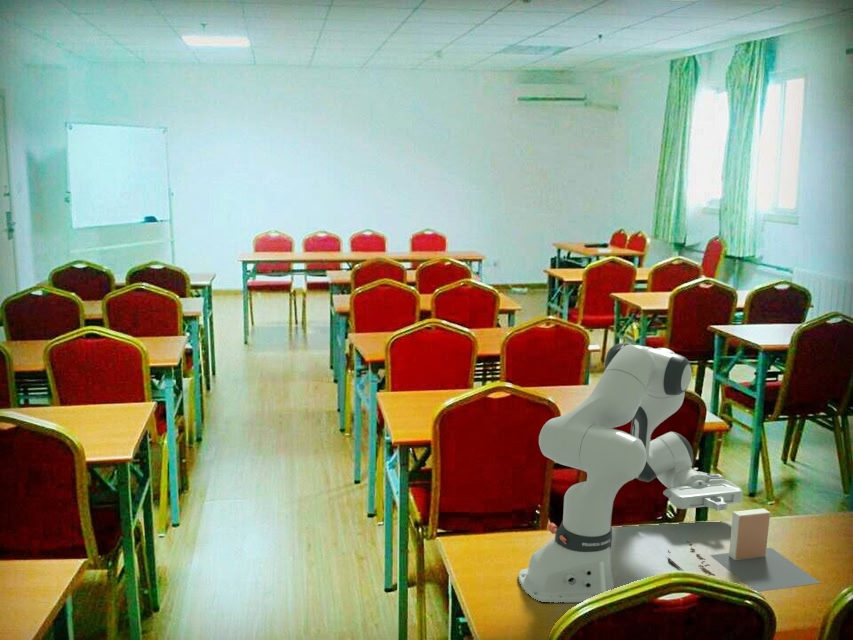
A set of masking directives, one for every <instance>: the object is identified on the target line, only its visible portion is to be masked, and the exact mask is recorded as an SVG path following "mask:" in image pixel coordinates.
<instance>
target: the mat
mask: <svg viewBox="0 0 853 640" xmlns="http://www.w3.org/2000/svg"><path fill="white" fill-rule="evenodd" d="M710 556H711V558H713V560H716V562H717V563H719V564H720V565H721V566H723V567H724V568H725V569H726V570H728V571H729V572H730V573H731V574H733V575H734V576H735V577H736V578H738V580H740V581H741V582H743V583H744V584H745V585H746V586H748V587H749V588H750V589H751V588H753V589H754V590H756V591H758V592H765V591H766V592H767V591H773V590H779V589H786V588H787V589H789V588H795V587H802V586H809V585H817V584H821V583H822V582H821V581H820V580H817V579H816V577H814V576H812V575H811V574H809V573H808V572H806V571H805V570H804V569H803V568H800V567H799V566H798V565H796V564H795V563H794V562H792V561H791V560H789V559H788V558H786V557H785V556H783V555H782V554H781V553H780V552H778V551H777V550H775V548H772V547H768V548H767V547H766V556H765V557H757V558H749V559H740V560H734V559H732V558H731V557H730V556H729V552H726V553H717V554H710ZM750 586H751V587H750ZM753 589H752V590H753ZM754 590H753V591H754ZM758 592H757V593H758Z"/></svg>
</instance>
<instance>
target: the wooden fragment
mask: <svg viewBox="0 0 853 640" xmlns="http://www.w3.org/2000/svg"><path fill="white" fill-rule="evenodd" d="M686 543H688V546H689V547H690V546H691V547H690V551H689V552H690V553H693V554H694V553H695V555H696V558H697V559H699V561H700V560H701V564H702V565H701V564H699V565H697V567H698V568H699V570H700V571H701V572H703V573H704V575H707V576H713V577H714V576H715V577H716V574H715V573H712V572H711V571H710V570H708V569H707V568H705V567H708V566H710V564H704V563H706V561H705V560H706V559H705V558H704V557H702V556H701V554H699V553H696V548H692V547H693V543H690V541H686ZM694 547H697V545H694ZM667 553H669V554H668V555H671V553H672V552H671V551H669V549H667ZM667 557H668V558H667V559H668V563H670V564H672V565H674V566H675V567H677V568H679V569H680V570H682V571H683V572H684V571H685V570H684V569H682V567H680V565H678V564H677V563H676V562H675V561H673V560H672V559H671V558H670V557H669V556H667ZM703 560H704V561H703Z"/></svg>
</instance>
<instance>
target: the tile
mask: <svg viewBox="0 0 853 640" xmlns="http://www.w3.org/2000/svg"><path fill="white" fill-rule="evenodd" d="M770 517H771V511H768V510H767V509H766V508H764V507H763V508H755V509H746V510H745V509H744V510H736V511H735V510H734V511H732V520H731V529H730V539H729V541H730V542H729V548H728V549H729V550H728V553H729V556H730V557H731V558H732V559H734V560H740V559H749V558H757V557H765V556H766V548H767V545H768V536H769V528H770V527H769V526H770V519H771V518H770Z"/></svg>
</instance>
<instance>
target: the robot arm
mask: <svg viewBox="0 0 853 640" xmlns="http://www.w3.org/2000/svg"><path fill="white" fill-rule="evenodd" d="M692 370H693V369H692V364H691V362H690V361H689V360H688V359H687V358H686V357H685V356H683V355H681V354H678V353H675V352H674V351H673V350H671V349H669V348H666V347H657V348H656V347H655V348H653V347H651V346H646V345H645V346H644V345H637V344H630V343H627V342H622V343H621V342H619V343H616V344H614V345H613V346H612V347H610V349H608V351H607V353H606V357H605V360H604V371H603V373H602V375H601V377H600V379H599V380H598V382H597V384H596V385H595V387H594V389H593V390H592V392H591V393H590V395H589V396H588V397H587V399H586V400H585V401H583V402H582V403H581V404H580V405H578V406H577V407H576V408H574V409H573V410H570V411H569V412H567V413H565V414H562V415H560V416H557V417H552V418H551V419H549V420H547V421H546V422H545V424H543V426H542V428H541V430H540V433H539V435H538V445H539V449H540V452H541V453H542V455H543V456H544V457H546V458H548V459H550V460H551V461H554V462H555V463H557V464H559V465H562V466H566V467H569V468H573V469H577V470H580V471H583V472H586V475H587V476H586V481H581V482H578V483H575V484H572V485H571V486H570V487H569V488H568V489H567V491H566V492H565V494H564V496H563V511H562V512H563V514H562V521H561V523H560V525H559V527H558V526H557V525H556V524H555V523H554V522H550V523H548V525H547V530H548V531H549V532H550V533H551V534H553V535H554V534H555V535H554V536H555V537H553V538H552V539H551V540H550V541H548V542H547V543H546V544H545V545H543V546H541V547H540V548H539V549H538V550H535V552H533V553H532V555H531V557H530V559H529V563H528V567H527V568H522V569H521V570H519V573H518V577H519V578H518V582H520V583H519V585H520V584H521V585H520V586H521V588H522V590H523V591H524V590H525V591H524V592H525V593H526V594H527V595H528V594H529V595H530V596H531V597H530V596H529V595H528V596H529V597H530V598H531V599H533V598H534V599H533V600H535V599H536V600H535V601H537V600H538V601H537V602H539V601H541V602H550V603H549V604H552V603H551V602H554V603H555V604H557V603H558V602H559V603H560V602H561V603H562V602H564V603H583V602H582V601H584V600H586V599H588V598H591V597H593V596H595V595H598V594H600V593H603V592H605V591H608V590H610V589H612V590H613V589H614V587H615V581H614V577H613V572H612V564H611V563H612V562H611V548H612V543H613V542H612V541H613V528H612V526H611V525H612V514H613V509H614V508H613V507H614V501H615V498H616V495H617V494H618V492H619V490H620V489H621V488H623V486H624V485H625V484H627V483H628V482H630V481H633V480H634V479H636V480H638V481H641V482H646V483H649V482H651V481H653V480H654V479H656V478H657V479H658V481H659V482H661V484H662V485H664V486H665V487H666V489H664V490H663V492H662V493H663V495H664V496H665V497H666V498H668V501H669V502H670V503H671V504H672V505H673V506H674V507H675V508H676V509H679V510H687V509H696V508H705V507H706V508H708V509H713V510H715V511H717V512H718V511H725V510H728V505H732V504H741V503H742V500H743V493H744V492H743V489H742V488H741V487H739V486H738V485H736V484H735V483H733V482H731V481H730V480H728V479H724V477H723V475H721V474H720V473H711V472H708V473H707V472H704V471H699V470H698V471H697V470H696V469H694V468H693V463H694V451H693V448H692V445H691V443H690V442H689V441H688V439H687V438H686V437H684V436H683V435H682V434H680V433H678V432H676V431H669V432H666V433H664V434H662V435H660V436H657V437H656V438H655V439H651V437H652V434H653V432H654V430H655V429H656V428H657V427H658V426H659V425H660V424H661V423H663V422H664V421H665V420H667V419H668V418H669V417H671V416H672V415H675V413H676V412H677V411H678V410H679V409H680V408H681V407H682V405H683V403H684V399H685V394H686V393H685V392H686V390H688V388H689V385H690V383H691V380H692V377H693V376H692V374H693V373H692V372H693V371H692ZM628 423H631V426H630V433H628V432H626V431H623V430H619V429H615V428H617V427H621V426H624V425H626V424H628ZM541 602H540V603H541ZM554 603H553V604H554Z"/></svg>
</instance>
